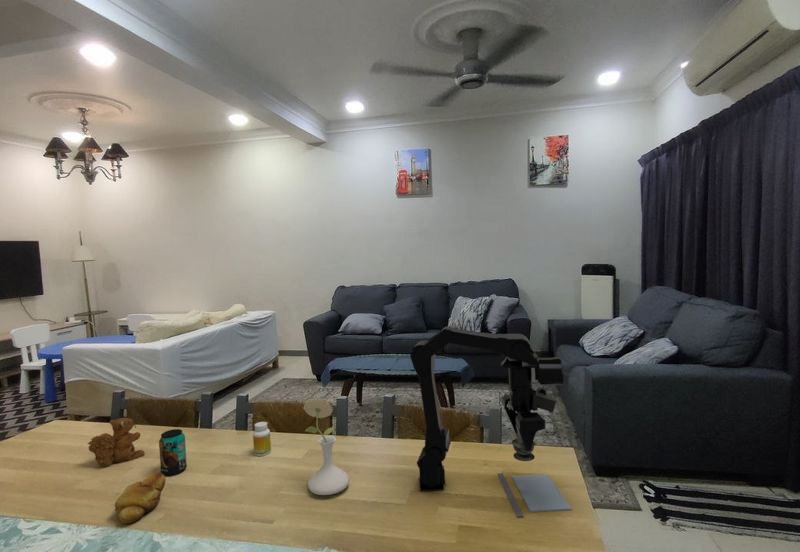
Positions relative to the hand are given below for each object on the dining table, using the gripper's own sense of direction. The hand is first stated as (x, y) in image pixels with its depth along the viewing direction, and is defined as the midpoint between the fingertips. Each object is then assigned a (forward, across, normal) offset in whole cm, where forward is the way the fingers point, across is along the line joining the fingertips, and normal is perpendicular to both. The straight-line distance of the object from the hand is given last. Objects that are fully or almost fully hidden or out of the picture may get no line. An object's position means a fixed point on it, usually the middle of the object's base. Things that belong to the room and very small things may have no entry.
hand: (523, 443), depth 110 cm
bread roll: (+12, -1, +101) cm, 101 cm away
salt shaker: (+4, 0, 0) cm, 4 cm away
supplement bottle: (+12, +30, +78) cm, 85 cm away
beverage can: (+12, +19, +102) cm, 105 cm away
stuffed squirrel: (+11, +28, +126) cm, 130 cm away
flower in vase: (+13, +7, +53) cm, 55 cm away
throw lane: (+14, 0, -2) cm, 14 cm away
